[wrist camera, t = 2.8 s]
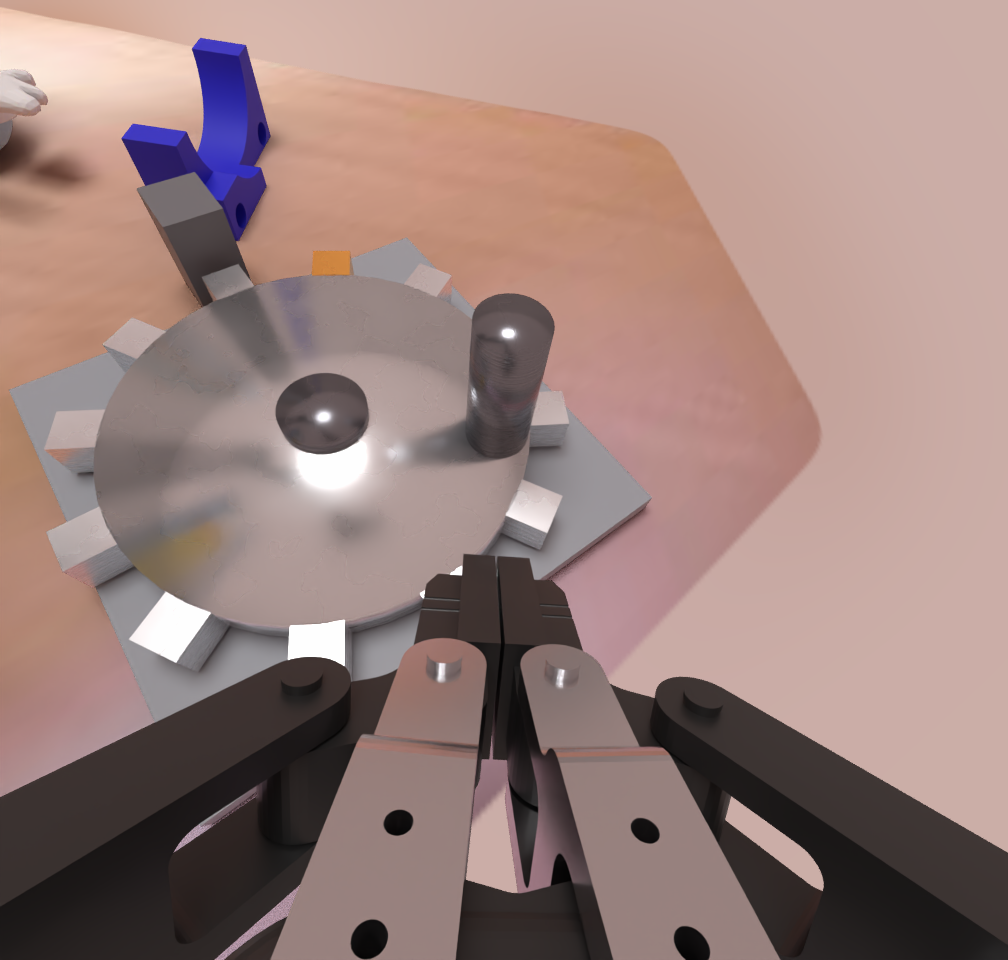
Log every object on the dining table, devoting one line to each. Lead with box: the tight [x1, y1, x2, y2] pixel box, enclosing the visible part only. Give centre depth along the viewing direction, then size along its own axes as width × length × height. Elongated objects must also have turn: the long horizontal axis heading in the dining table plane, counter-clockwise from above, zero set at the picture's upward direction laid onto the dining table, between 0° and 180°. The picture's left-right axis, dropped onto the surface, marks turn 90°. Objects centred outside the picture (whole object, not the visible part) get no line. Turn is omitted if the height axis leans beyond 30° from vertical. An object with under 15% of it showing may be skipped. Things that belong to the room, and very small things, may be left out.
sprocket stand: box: [9, 172, 652, 826], centre depth 26 cm, size 28×23×6 cm
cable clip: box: [121, 38, 270, 241], centre depth 35 cm, size 12×4×6 cm, turn 175°
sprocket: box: [44, 251, 569, 682], centre depth 23 cm, size 23×23×9 cm
